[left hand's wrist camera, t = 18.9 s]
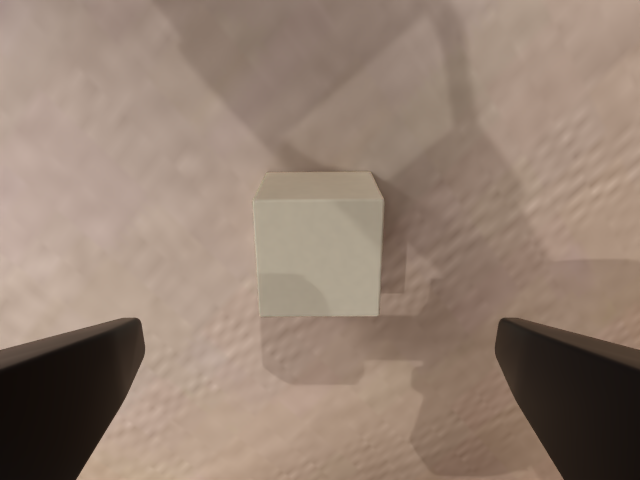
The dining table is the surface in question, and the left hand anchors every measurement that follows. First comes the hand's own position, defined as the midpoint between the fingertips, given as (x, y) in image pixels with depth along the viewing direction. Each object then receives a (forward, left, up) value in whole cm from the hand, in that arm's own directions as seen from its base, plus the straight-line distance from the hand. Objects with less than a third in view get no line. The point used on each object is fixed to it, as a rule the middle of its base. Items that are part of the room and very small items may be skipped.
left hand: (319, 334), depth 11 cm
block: (0, 0, -9) cm, 9 cm away
